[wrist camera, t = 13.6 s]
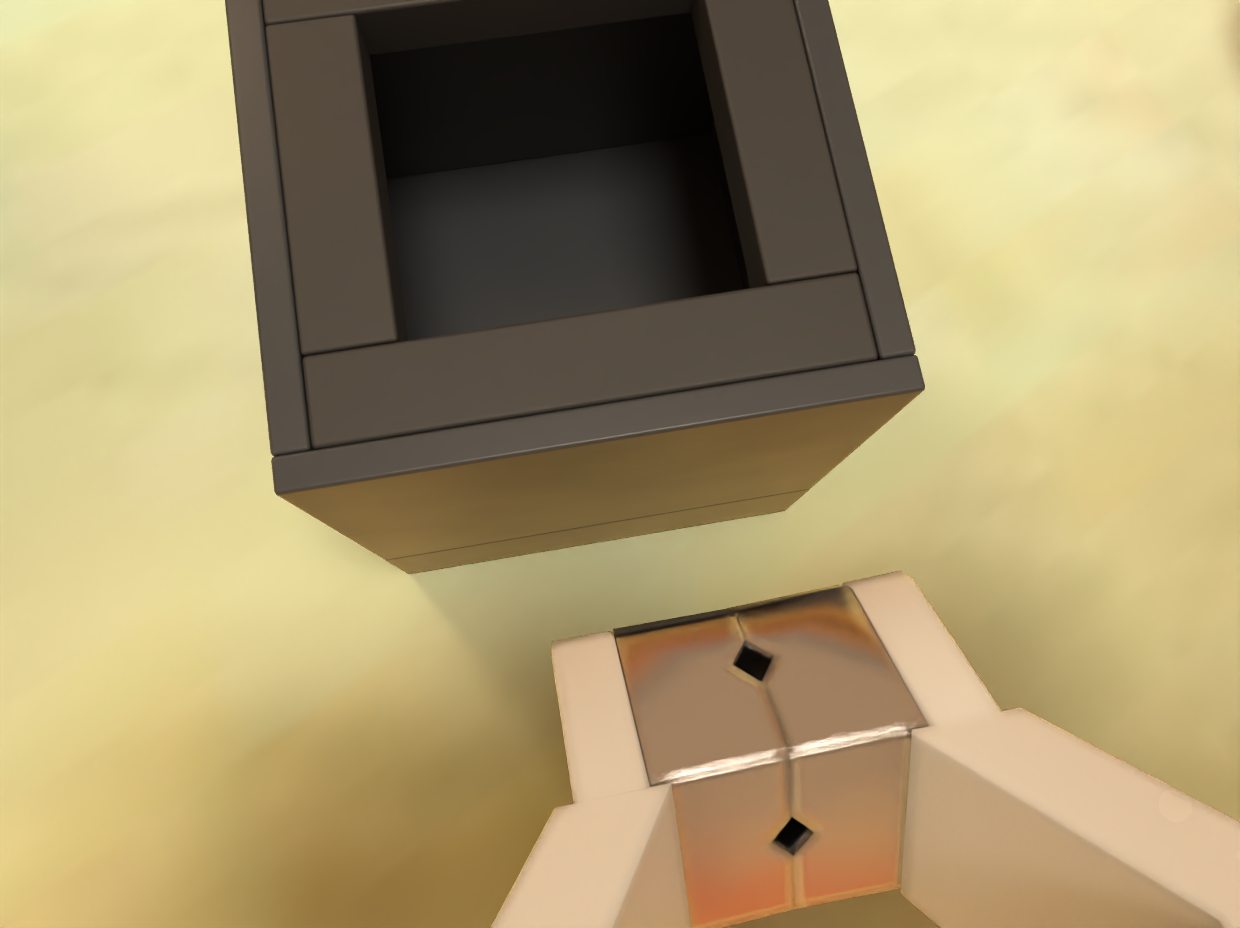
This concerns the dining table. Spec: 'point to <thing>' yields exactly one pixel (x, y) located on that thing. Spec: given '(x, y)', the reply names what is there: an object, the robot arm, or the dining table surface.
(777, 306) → the dark brown matte cube
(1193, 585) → the dining table surface
